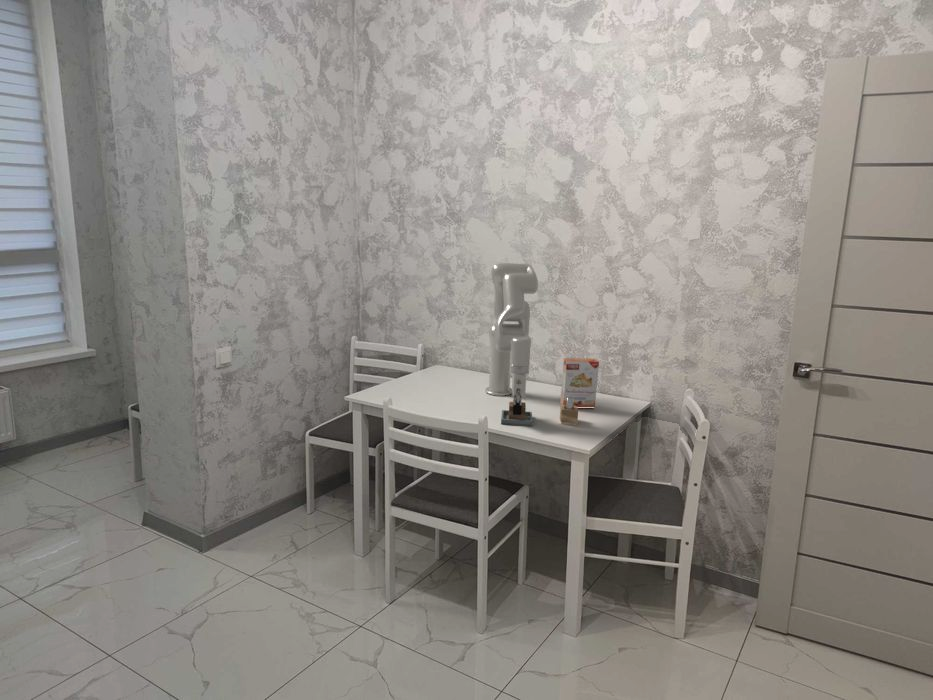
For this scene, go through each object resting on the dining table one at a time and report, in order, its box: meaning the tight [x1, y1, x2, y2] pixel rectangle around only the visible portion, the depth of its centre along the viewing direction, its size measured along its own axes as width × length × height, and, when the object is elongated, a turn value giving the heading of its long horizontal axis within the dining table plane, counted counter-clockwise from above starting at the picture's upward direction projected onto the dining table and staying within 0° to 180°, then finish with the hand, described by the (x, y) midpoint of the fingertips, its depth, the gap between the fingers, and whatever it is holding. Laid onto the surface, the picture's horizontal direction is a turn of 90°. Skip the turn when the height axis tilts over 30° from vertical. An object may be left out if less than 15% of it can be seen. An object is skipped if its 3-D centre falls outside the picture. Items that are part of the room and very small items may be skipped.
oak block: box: [559, 405, 579, 425], centre depth 253 cm, size 6×6×6 cm
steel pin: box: [566, 397, 573, 409], centre depth 252 cm, size 2×2×9 cm
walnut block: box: [508, 401, 527, 420], centre depth 252 cm, size 6×6×6 cm
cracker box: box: [560, 357, 600, 408], centre depth 271 cm, size 14×6×21 cm, turn 95°
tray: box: [500, 409, 533, 427], centre depth 253 cm, size 12×12×2 cm
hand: (517, 410), depth 252 cm, fingers open, 9 cm apart
